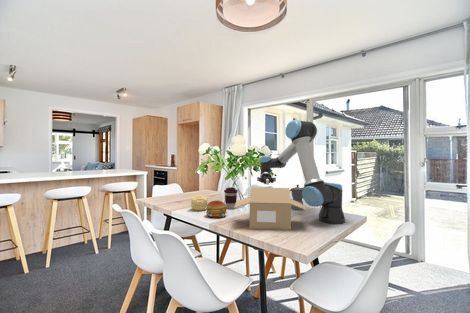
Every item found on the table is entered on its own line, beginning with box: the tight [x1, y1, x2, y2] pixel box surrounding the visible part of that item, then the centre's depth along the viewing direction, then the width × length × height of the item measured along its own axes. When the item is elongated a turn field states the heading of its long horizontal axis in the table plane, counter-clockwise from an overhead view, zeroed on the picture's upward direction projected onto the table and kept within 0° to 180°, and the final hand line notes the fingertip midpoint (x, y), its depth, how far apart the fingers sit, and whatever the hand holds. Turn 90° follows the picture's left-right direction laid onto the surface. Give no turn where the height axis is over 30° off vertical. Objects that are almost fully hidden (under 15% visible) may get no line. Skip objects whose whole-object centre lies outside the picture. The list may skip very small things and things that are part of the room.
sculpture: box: [190, 194, 208, 212], centre depth 170 cm, size 12×12×11 cm
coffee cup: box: [223, 186, 238, 210], centre depth 176 cm, size 10×10×15 cm
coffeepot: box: [289, 184, 304, 211], centre depth 175 cm, size 15×9×18 cm, turn 118°
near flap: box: [250, 186, 291, 204], centre depth 129 cm, size 21×9×1 cm
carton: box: [233, 196, 308, 231], centre depth 140 cm, size 39×27×14 cm
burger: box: [205, 200, 228, 219], centre depth 154 cm, size 13×14×10 cm
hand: (267, 182), depth 145 cm, fingers closed
